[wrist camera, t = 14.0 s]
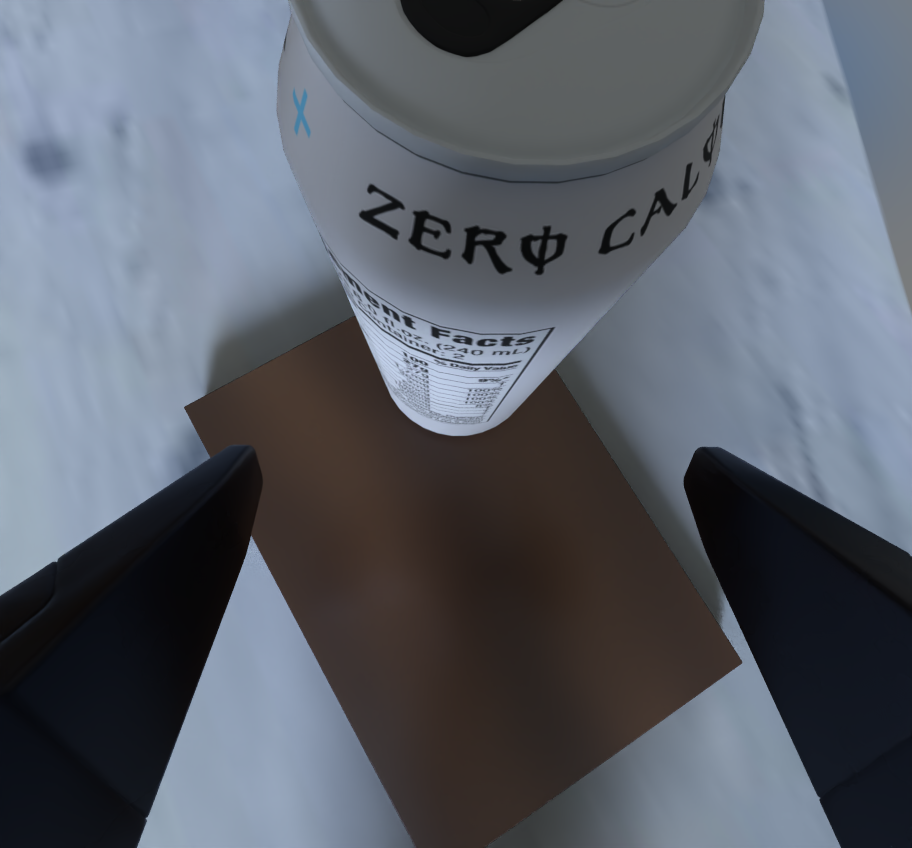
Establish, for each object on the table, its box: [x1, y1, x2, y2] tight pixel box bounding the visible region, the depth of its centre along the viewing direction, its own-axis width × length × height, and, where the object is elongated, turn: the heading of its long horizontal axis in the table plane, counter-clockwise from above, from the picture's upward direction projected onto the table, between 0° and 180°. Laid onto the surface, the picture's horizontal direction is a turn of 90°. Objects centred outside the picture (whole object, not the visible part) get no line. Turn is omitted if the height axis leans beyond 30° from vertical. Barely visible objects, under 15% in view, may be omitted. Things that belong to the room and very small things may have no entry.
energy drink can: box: [277, 0, 764, 436], centre depth 12 cm, size 6×6×15 cm
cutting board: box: [184, 315, 742, 848], centre depth 19 cm, size 14×20×2 cm
